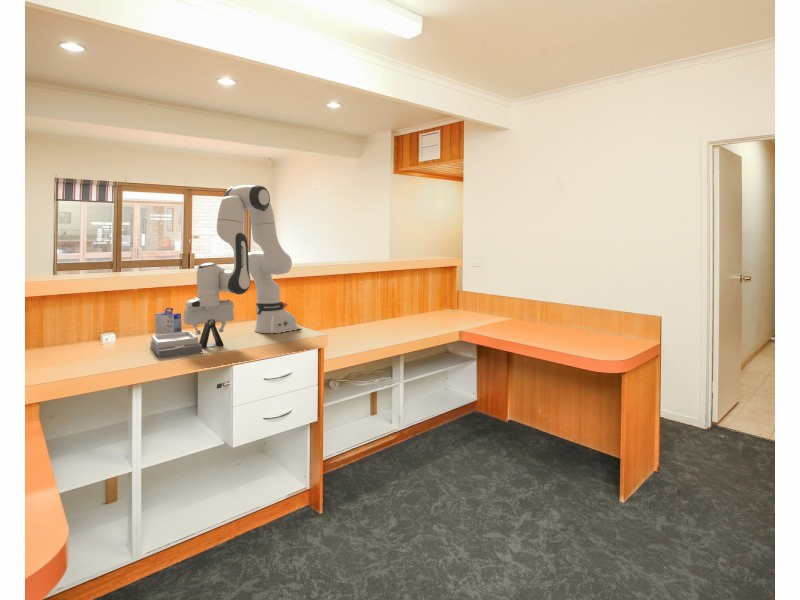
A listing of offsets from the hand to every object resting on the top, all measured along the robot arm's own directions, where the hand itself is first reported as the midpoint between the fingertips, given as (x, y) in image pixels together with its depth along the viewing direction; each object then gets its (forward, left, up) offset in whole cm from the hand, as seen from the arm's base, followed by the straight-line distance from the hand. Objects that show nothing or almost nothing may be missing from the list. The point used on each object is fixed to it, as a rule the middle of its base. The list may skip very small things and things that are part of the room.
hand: (209, 333), depth 211 cm
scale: (+14, 0, -6) cm, 15 cm away
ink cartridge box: (+13, -20, -6) cm, 25 cm away
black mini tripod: (0, 0, -6) cm, 6 cm away
